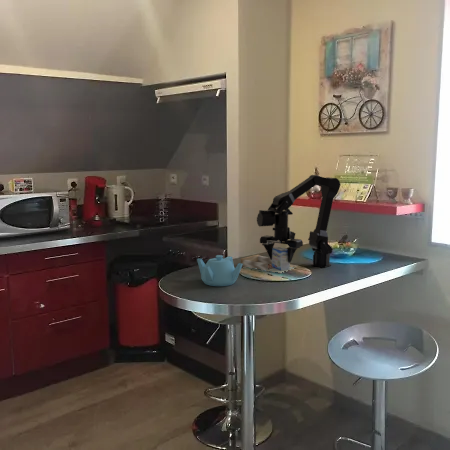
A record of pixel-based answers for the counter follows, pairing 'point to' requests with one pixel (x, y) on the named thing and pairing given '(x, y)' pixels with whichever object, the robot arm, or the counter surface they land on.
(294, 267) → the mat
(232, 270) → the teapot
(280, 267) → the medicine box
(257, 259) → the shelf lane
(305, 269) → the counter surface
